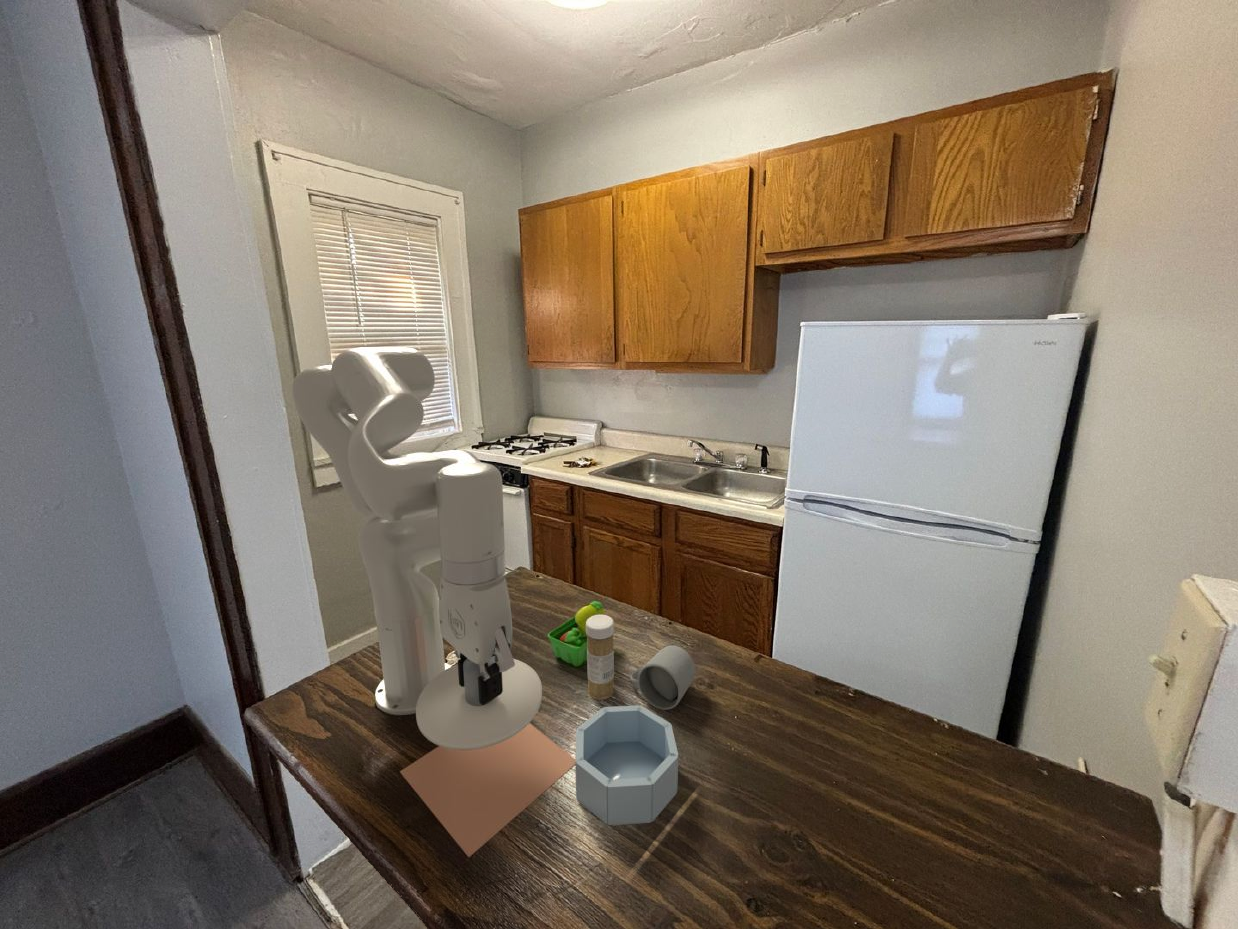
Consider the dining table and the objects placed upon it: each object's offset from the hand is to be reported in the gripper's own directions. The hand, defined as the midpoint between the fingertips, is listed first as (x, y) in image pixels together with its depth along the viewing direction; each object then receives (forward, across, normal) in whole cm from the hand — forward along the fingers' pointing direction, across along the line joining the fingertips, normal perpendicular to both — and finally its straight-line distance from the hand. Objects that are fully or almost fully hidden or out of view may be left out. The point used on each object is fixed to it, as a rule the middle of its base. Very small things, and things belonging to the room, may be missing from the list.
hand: (480, 688), depth 63 cm
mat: (+12, +1, 0) cm, 12 cm away
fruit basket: (+13, -8, +27) cm, 31 cm away
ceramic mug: (+12, +10, +28) cm, 32 cm away
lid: (+2, 0, 0) cm, 2 cm away
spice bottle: (+13, +2, +21) cm, 25 cm away
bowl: (+12, +16, +11) cm, 23 cm away
